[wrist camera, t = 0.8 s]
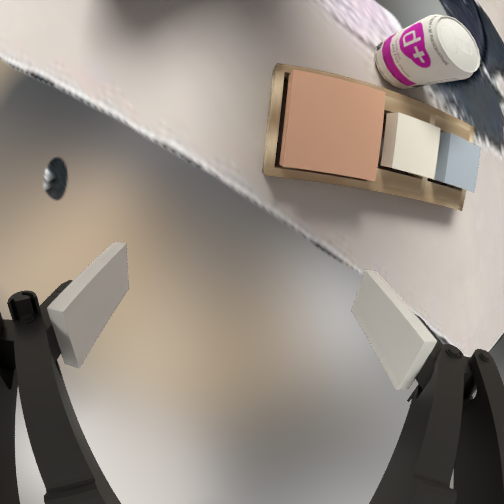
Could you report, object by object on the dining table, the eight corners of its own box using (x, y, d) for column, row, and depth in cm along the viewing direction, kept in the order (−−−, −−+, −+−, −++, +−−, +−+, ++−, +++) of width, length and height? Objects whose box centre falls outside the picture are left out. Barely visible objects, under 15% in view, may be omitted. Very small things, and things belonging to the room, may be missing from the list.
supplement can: (374, 84, 31) (437, 64, 17) (370, 35, 28) (425, 0, 14) (418, 94, 31) (486, 87, 17) (414, 48, 28) (476, 27, 14)
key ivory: (381, 114, 30) (398, 112, 26) (421, 127, 31) (440, 128, 27) (375, 164, 33) (391, 168, 29) (415, 174, 33) (433, 179, 29)
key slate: (431, 131, 31) (450, 132, 27) (462, 144, 31) (480, 147, 27) (425, 176, 34) (444, 182, 29) (455, 186, 34) (474, 192, 30)
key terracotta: (286, 78, 29) (293, 69, 24) (369, 96, 29) (385, 92, 25) (277, 163, 33) (283, 166, 28) (360, 176, 33) (375, 181, 29)
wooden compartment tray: (273, 71, 30) (276, 63, 27) (458, 126, 33) (474, 127, 29) (262, 171, 36) (264, 175, 32) (447, 204, 38) (461, 210, 34)
